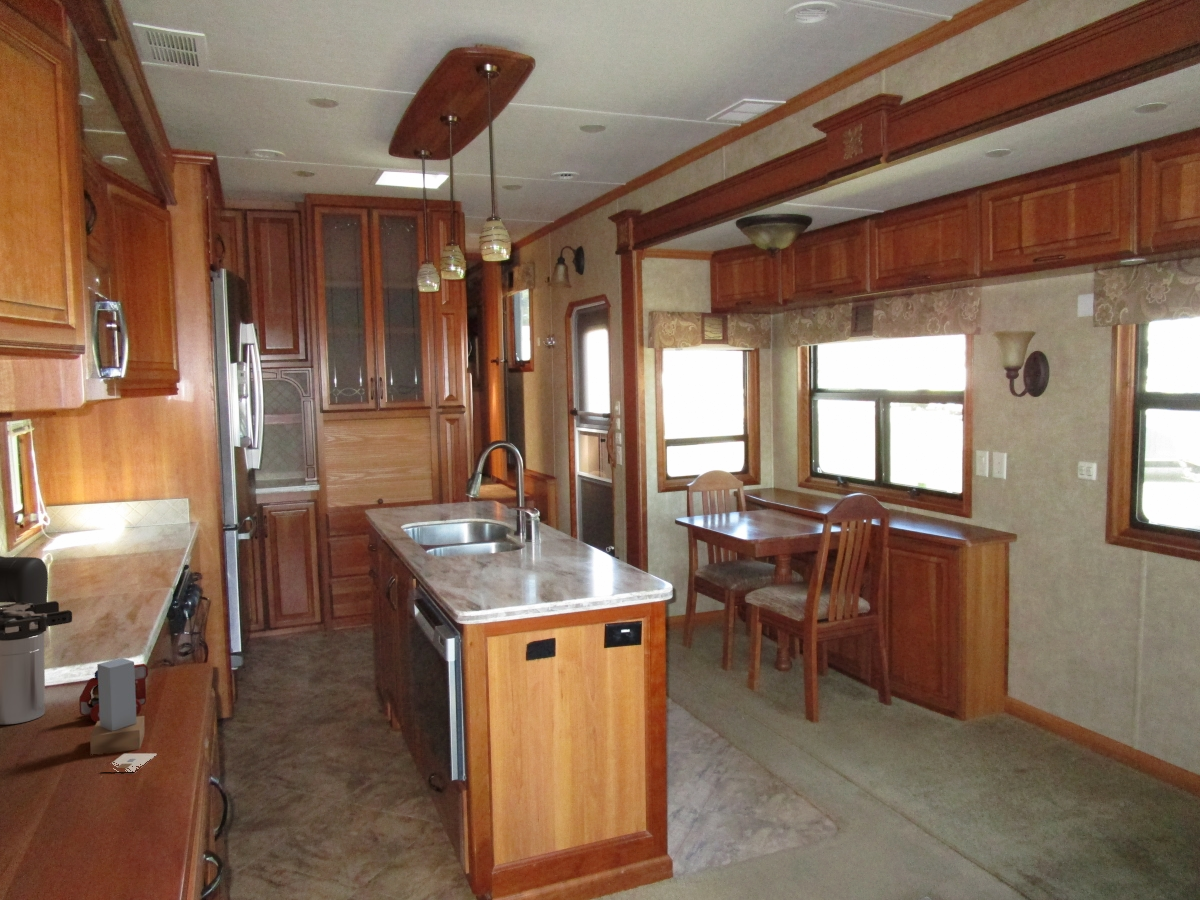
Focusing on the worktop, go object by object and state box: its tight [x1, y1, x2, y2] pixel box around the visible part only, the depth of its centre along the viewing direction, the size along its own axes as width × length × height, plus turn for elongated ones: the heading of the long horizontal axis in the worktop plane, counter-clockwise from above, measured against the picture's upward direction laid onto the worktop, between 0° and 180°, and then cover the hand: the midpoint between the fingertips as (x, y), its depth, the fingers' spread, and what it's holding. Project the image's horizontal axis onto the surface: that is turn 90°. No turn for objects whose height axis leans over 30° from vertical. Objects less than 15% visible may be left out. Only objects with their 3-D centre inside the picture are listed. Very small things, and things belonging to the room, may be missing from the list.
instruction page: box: [111, 753, 157, 773], centre depth 150 cm, size 6×8×1 cm
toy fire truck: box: [78, 663, 149, 724], centre depth 173 cm, size 7×12×10 cm, turn 122°
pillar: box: [96, 657, 137, 731], centre depth 159 cm, size 4×4×12 cm
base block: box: [89, 715, 146, 756], centre depth 159 cm, size 8×8×4 cm
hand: (64, 611), depth 152 cm, fingers open, 8 cm apart
